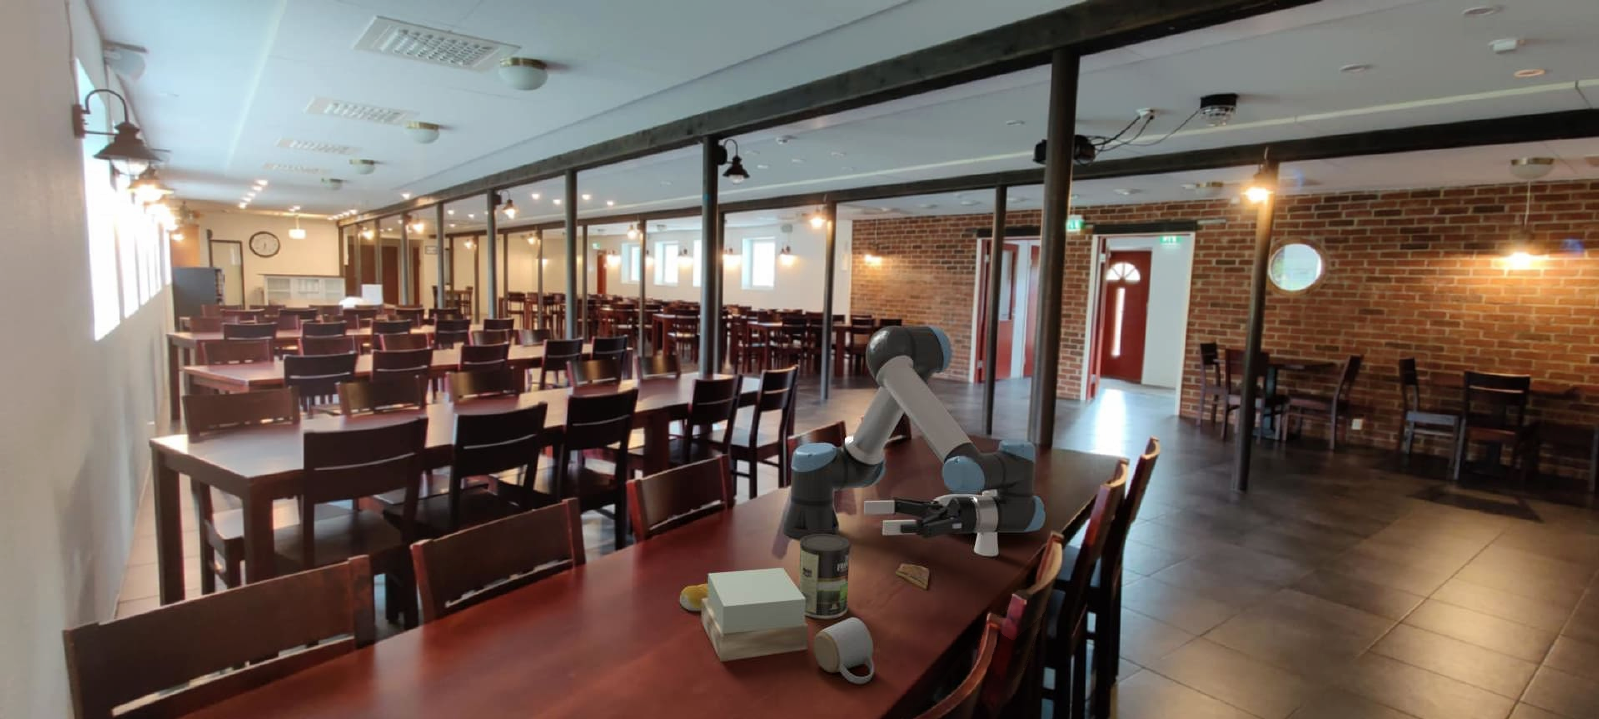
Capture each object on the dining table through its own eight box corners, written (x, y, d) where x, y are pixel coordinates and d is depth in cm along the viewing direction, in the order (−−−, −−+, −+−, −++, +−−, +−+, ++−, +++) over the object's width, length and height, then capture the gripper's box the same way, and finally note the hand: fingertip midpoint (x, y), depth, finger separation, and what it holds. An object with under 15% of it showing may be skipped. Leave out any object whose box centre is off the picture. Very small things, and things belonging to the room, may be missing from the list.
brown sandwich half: (926, 592, 160) (927, 584, 160) (892, 587, 161) (892, 579, 161) (929, 574, 170) (930, 566, 170) (897, 570, 172) (897, 562, 172)
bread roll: (731, 606, 148) (731, 587, 148) (690, 616, 143) (691, 596, 143) (713, 591, 155) (713, 573, 155) (674, 600, 150) (674, 581, 150)
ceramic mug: (809, 663, 126) (811, 621, 125) (844, 650, 131) (847, 610, 130) (849, 692, 118) (851, 648, 117) (885, 677, 123) (888, 634, 122)
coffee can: (853, 603, 152) (856, 537, 150) (838, 623, 142) (841, 553, 141) (807, 594, 155) (809, 530, 154) (789, 613, 145) (792, 545, 144)
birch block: (701, 623, 141) (701, 598, 140) (779, 613, 146) (779, 589, 146) (720, 664, 126) (721, 636, 125) (806, 651, 131) (807, 625, 131)
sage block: (707, 598, 140) (708, 573, 140) (781, 591, 145) (782, 567, 144) (722, 634, 126) (723, 606, 126) (804, 625, 131) (805, 598, 130)
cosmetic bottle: (972, 554, 183) (977, 469, 181) (975, 546, 189) (980, 464, 187) (996, 558, 181) (1002, 472, 179) (999, 550, 186) (1005, 466, 184)
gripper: (996, 553, 140) (891, 556, 136) (947, 514, 165) (857, 516, 161) (998, 515, 139) (892, 517, 136) (949, 482, 164) (858, 483, 160)
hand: (873, 517), depth 148 cm, fingers open, 13 cm apart
